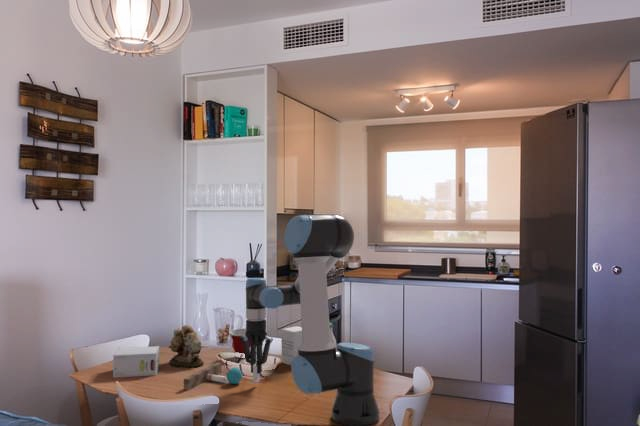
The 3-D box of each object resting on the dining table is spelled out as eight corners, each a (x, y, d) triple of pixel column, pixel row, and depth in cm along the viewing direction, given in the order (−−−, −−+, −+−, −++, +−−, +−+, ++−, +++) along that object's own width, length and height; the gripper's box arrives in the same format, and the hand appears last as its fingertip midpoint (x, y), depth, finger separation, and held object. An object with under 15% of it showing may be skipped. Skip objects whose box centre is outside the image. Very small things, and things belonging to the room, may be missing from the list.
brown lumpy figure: (160, 364, 237) (160, 325, 237) (179, 358, 247) (179, 321, 248) (191, 370, 228) (191, 329, 228) (210, 363, 238) (210, 324, 239)
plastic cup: (225, 358, 245) (225, 332, 246) (237, 353, 256) (237, 327, 256) (246, 361, 242) (246, 334, 242) (257, 355, 252) (257, 329, 252)
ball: (220, 376, 208) (230, 388, 206) (230, 365, 207) (240, 377, 205) (228, 374, 213) (238, 385, 211) (238, 363, 212) (247, 374, 210)
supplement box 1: (112, 378, 218) (112, 354, 218) (118, 369, 230) (118, 347, 231) (156, 375, 221) (156, 352, 221) (159, 367, 234) (159, 345, 234)
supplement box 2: (296, 359, 245) (296, 325, 245) (309, 362, 238) (309, 328, 238) (280, 362, 239) (280, 328, 239) (294, 366, 232) (293, 331, 232)
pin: (224, 376, 209) (206, 373, 213) (223, 383, 208) (205, 380, 212) (228, 376, 211) (210, 373, 215) (227, 383, 210) (209, 380, 214)
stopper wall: (188, 390, 201) (188, 379, 201) (183, 389, 202) (183, 379, 202) (221, 372, 224) (221, 363, 224) (217, 372, 224) (217, 362, 224)
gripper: (276, 318, 206) (276, 380, 206) (245, 316, 211) (245, 377, 211) (267, 322, 199) (267, 386, 199) (235, 319, 204) (236, 382, 204)
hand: (256, 381), depth 205 cm, fingers closed
